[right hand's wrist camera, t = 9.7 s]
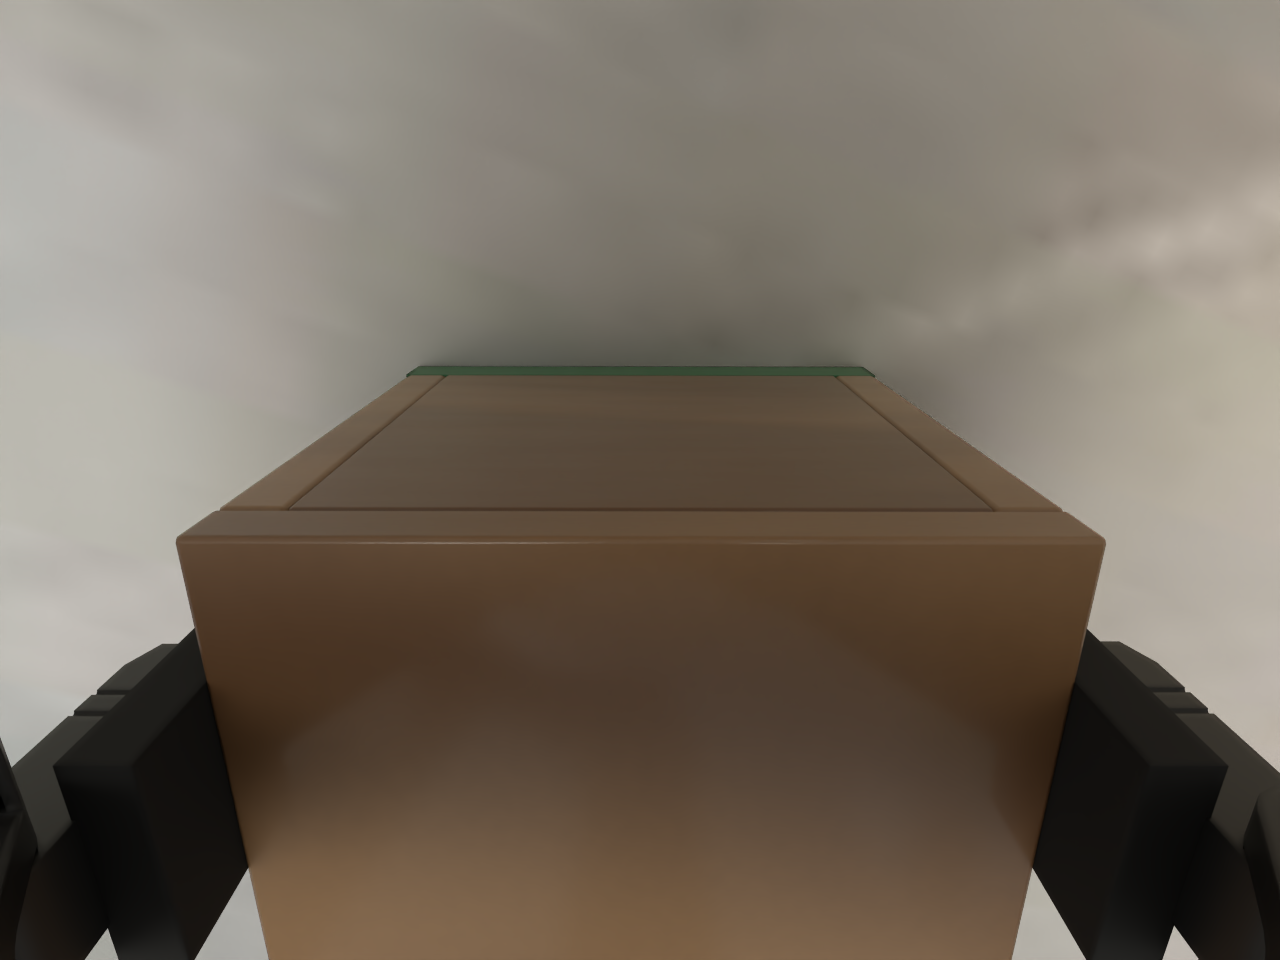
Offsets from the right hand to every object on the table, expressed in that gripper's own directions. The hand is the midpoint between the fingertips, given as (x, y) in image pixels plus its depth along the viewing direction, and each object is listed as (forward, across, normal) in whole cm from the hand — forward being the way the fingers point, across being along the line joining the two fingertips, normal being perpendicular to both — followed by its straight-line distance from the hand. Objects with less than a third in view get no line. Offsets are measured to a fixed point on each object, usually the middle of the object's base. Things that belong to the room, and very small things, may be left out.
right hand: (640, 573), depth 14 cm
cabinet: (+4, 0, -8) cm, 8 cm away
